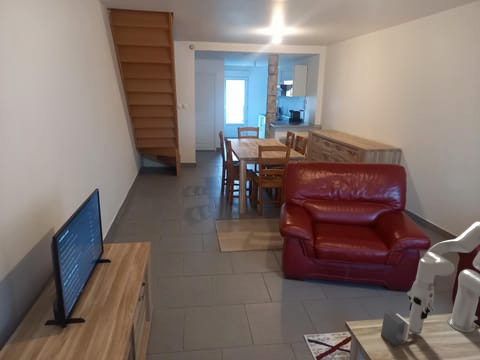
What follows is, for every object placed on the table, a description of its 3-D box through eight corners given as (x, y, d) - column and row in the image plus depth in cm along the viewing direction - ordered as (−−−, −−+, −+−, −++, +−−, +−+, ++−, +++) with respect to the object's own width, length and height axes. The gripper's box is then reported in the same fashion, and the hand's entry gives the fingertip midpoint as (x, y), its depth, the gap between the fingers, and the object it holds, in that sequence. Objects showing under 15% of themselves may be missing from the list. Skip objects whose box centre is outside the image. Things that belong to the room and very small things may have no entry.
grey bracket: (401, 329, 179) (406, 306, 175) (416, 341, 171) (421, 317, 167) (380, 335, 174) (384, 312, 170) (394, 348, 166) (398, 323, 162)
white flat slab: (394, 330, 176) (397, 313, 174) (408, 342, 168) (412, 325, 166) (392, 330, 176) (395, 314, 173) (406, 343, 168) (410, 325, 165)
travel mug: (423, 335, 172) (430, 300, 166) (409, 333, 173) (416, 299, 168) (420, 326, 178) (426, 293, 172) (406, 324, 179) (412, 291, 173)
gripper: (445, 291, 161) (438, 323, 167) (415, 272, 177) (409, 302, 182) (433, 294, 159) (426, 327, 164) (404, 274, 174) (398, 305, 179)
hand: (417, 313), depth 173 cm, fingers closed on travel mug, 6 cm apart
